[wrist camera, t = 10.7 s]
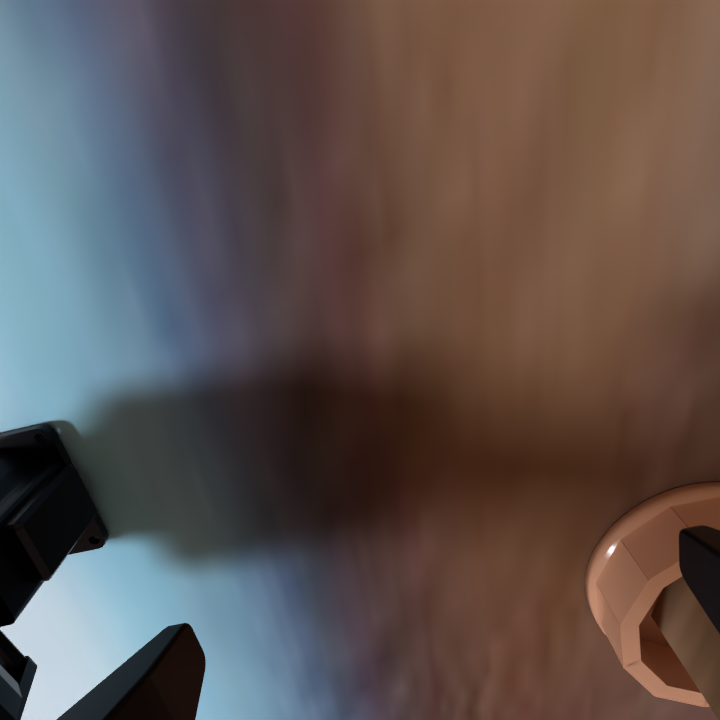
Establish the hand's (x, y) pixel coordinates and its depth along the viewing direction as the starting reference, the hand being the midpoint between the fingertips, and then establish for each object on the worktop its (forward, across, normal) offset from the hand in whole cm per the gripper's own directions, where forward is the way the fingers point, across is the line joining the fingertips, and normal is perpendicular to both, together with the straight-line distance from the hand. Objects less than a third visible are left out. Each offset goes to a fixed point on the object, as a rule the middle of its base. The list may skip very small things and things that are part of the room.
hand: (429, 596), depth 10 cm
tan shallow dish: (+13, +12, -15) cm, 23 cm away
